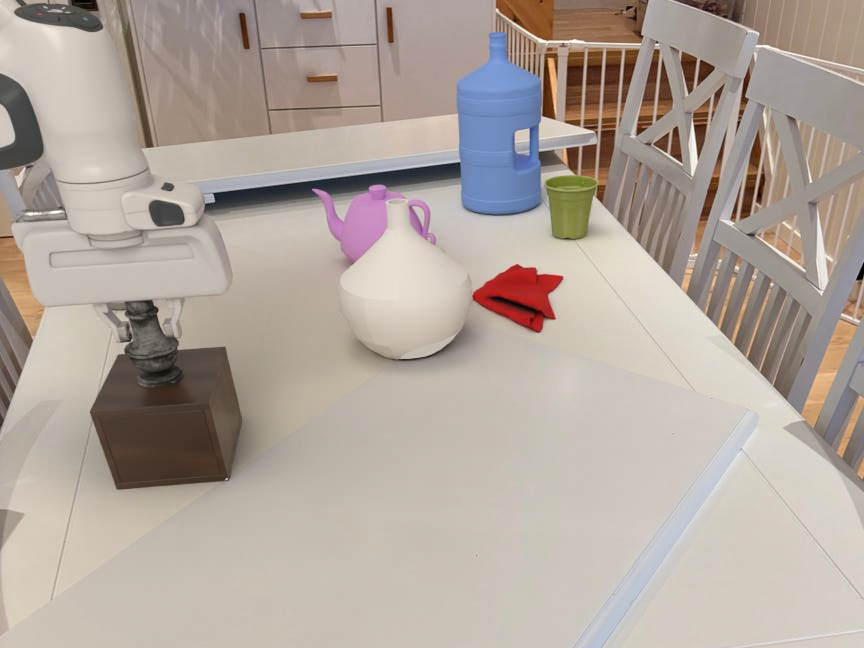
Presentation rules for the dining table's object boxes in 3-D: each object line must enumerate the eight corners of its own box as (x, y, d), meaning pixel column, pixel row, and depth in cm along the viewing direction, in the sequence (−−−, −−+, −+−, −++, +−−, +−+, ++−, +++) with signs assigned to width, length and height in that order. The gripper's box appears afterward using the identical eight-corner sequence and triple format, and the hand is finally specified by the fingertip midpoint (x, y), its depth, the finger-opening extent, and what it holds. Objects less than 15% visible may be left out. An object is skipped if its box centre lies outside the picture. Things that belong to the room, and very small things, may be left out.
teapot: (312, 277, 151) (299, 199, 143) (333, 248, 162) (323, 174, 154) (430, 279, 149) (424, 199, 141) (444, 249, 159) (440, 174, 151)
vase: (498, 352, 126) (494, 205, 114) (378, 386, 120) (360, 234, 107) (437, 310, 138) (427, 173, 126) (325, 339, 132) (303, 197, 119)
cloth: (485, 267, 152) (485, 253, 150) (568, 268, 150) (568, 254, 148) (457, 330, 133) (457, 315, 131) (552, 333, 131) (552, 317, 129)
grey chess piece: (146, 393, 99) (113, 282, 91) (124, 376, 103) (90, 267, 95) (195, 377, 102) (167, 267, 94) (173, 360, 105) (144, 253, 97)
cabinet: (140, 427, 114) (117, 354, 107) (242, 419, 114) (225, 346, 108) (116, 489, 103) (89, 411, 96) (228, 480, 103) (209, 402, 97)
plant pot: (571, 222, 168) (573, 171, 162) (607, 234, 162) (609, 181, 156) (532, 234, 164) (532, 182, 158) (567, 247, 158) (569, 193, 152)
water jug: (459, 217, 173) (450, 42, 154) (463, 193, 184) (455, 28, 166) (542, 215, 172) (542, 39, 153) (540, 191, 184) (541, 24, 165)
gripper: (-6, 220, 87) (45, 358, 96) (209, 206, 88) (239, 343, 97) (13, 201, 92) (60, 334, 101) (217, 187, 93) (245, 320, 102)
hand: (149, 338), depth 99 cm, fingers open, 4 cm apart
